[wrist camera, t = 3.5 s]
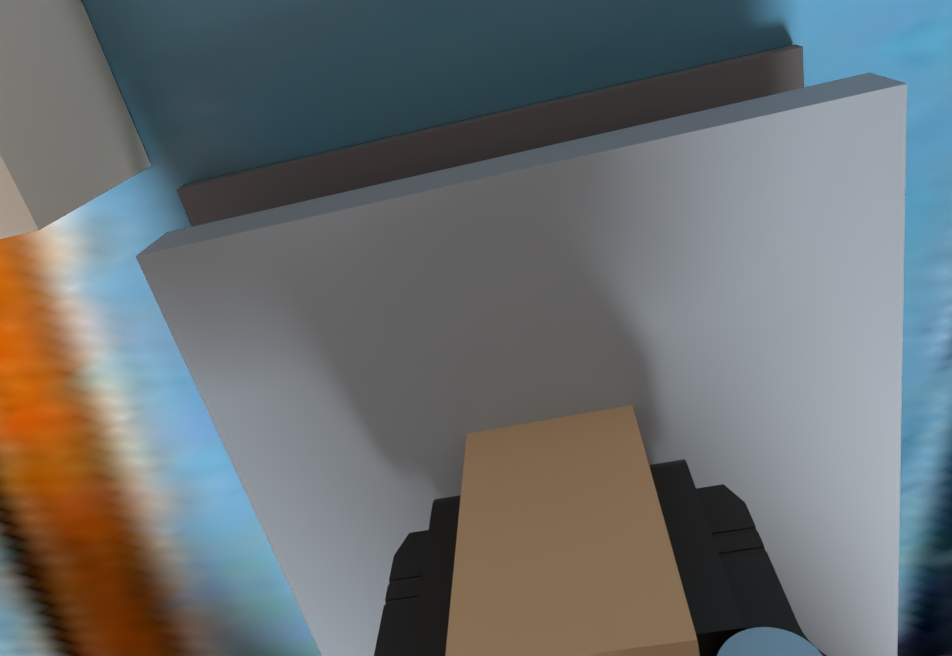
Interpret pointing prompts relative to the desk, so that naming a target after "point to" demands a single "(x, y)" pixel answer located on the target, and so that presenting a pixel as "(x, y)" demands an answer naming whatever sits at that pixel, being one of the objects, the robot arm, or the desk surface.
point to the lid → (574, 372)
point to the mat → (495, 135)
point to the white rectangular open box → (58, 116)
